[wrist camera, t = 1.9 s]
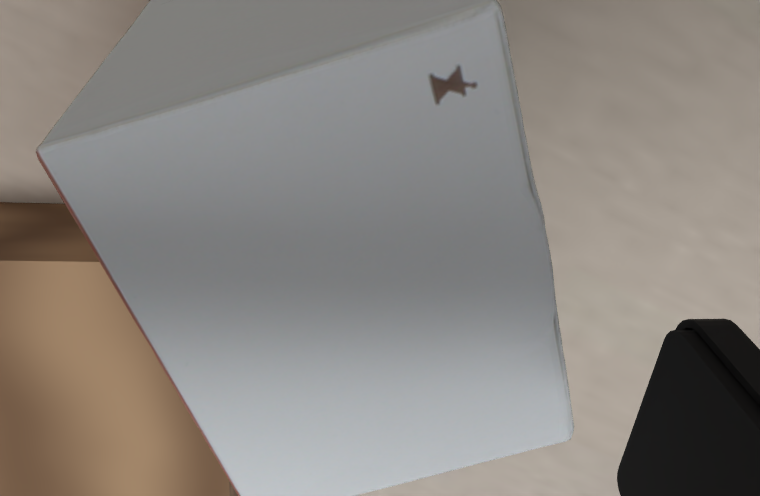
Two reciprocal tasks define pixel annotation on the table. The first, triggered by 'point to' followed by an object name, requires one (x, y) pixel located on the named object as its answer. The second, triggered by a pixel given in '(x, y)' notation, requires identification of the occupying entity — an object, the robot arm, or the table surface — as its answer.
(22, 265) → the walnut slab
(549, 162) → the table surface
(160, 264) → the small box
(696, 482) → the robot arm
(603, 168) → the table surface
